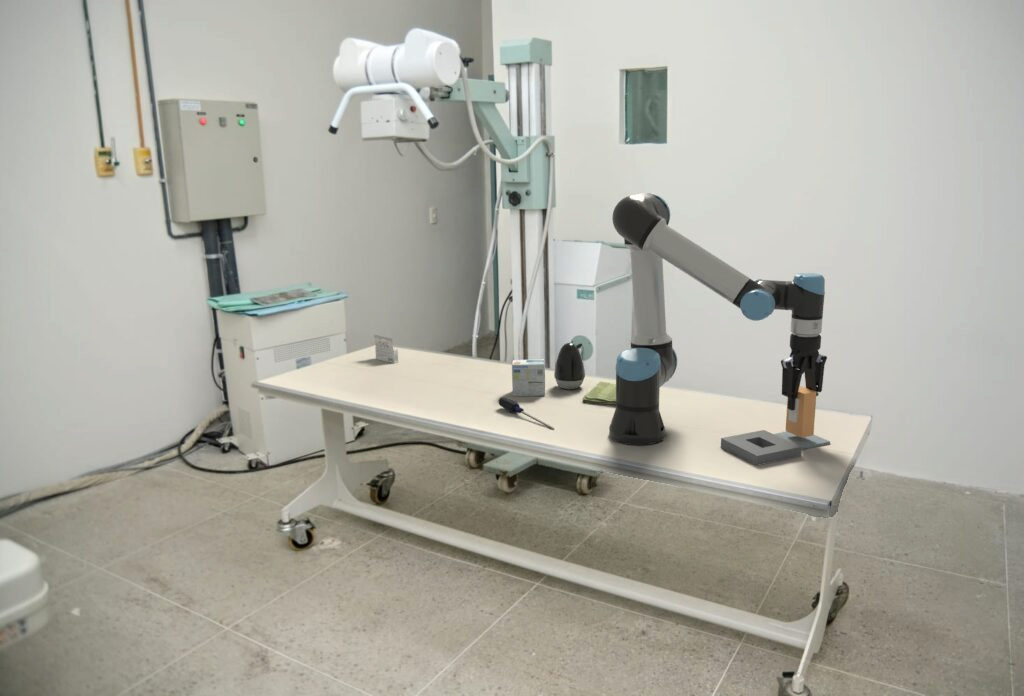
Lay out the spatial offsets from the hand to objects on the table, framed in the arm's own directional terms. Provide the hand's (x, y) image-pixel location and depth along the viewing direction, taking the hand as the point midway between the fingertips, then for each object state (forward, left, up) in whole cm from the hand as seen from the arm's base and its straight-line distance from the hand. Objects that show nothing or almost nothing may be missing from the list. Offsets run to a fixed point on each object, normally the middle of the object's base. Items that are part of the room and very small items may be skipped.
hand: (800, 419), depth 209 cm
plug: (0, 0, -4) cm, 4 cm away
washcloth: (-25, +56, -6) cm, 62 cm away
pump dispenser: (-32, +72, -6) cm, 79 cm away
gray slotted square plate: (-15, -2, -6) cm, 16 cm away
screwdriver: (-57, +49, -6) cm, 76 cm away
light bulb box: (-47, +72, -6) cm, 86 cm away
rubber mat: (0, 0, -6) cm, 6 cm away
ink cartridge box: (-78, +136, -6) cm, 157 cm away
